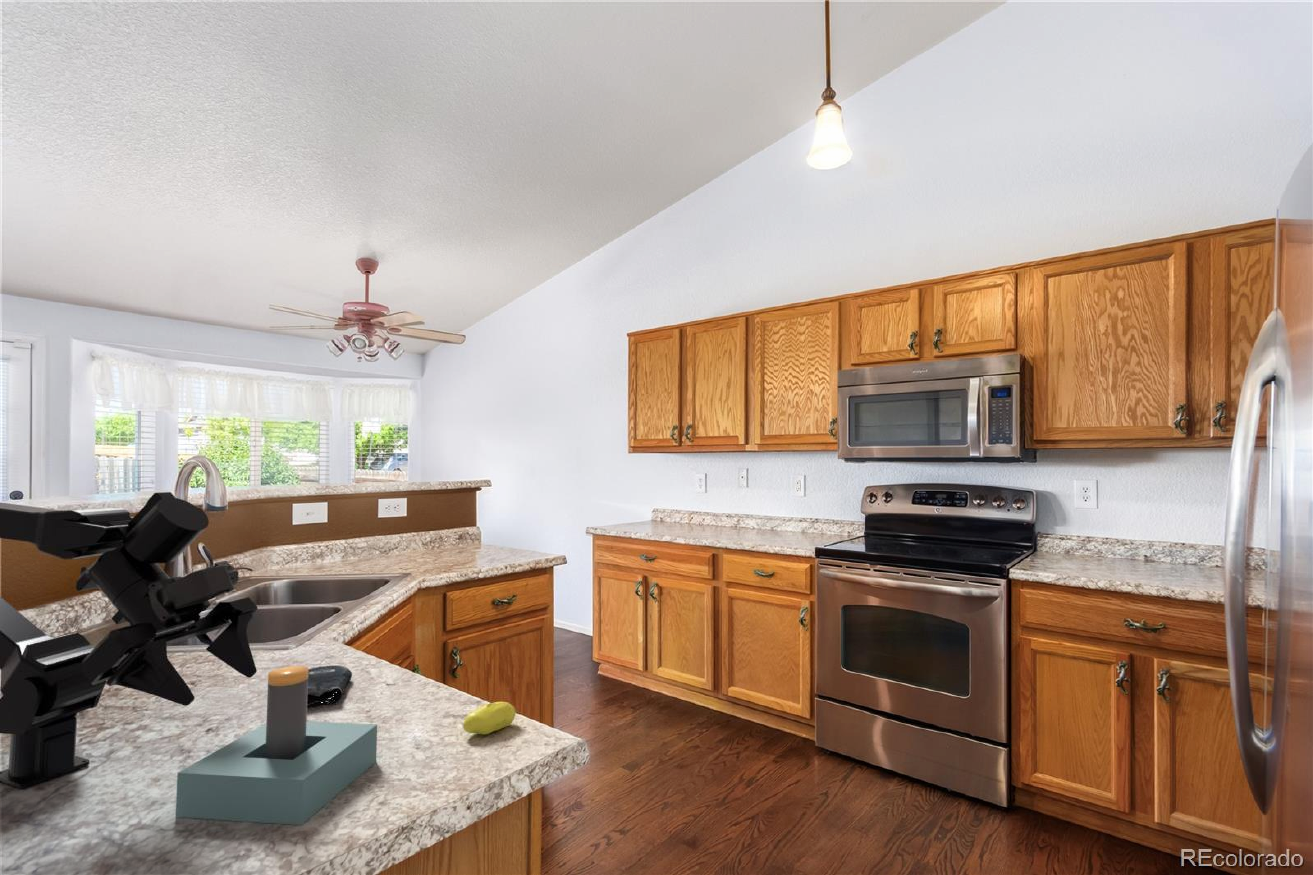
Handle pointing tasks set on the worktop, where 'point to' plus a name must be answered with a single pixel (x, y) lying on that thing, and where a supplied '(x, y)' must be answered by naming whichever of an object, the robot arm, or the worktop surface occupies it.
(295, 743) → the plug
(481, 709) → the lemon
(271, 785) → the socket
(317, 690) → the electronic device
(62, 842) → the worktop surface
